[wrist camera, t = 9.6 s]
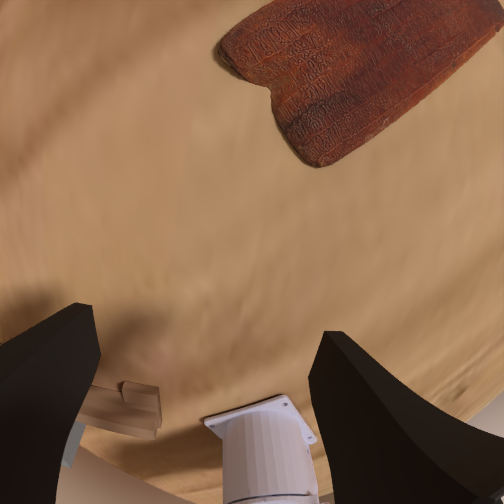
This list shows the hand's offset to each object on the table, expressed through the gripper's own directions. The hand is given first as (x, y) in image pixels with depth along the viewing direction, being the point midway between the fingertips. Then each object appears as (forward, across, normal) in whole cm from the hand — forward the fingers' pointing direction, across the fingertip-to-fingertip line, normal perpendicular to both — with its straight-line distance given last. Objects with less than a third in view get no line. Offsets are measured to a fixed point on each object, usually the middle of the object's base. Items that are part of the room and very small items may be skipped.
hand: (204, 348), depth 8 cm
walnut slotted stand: (+9, +13, +16) cm, 22 cm away
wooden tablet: (+10, -10, -18) cm, 23 cm away
